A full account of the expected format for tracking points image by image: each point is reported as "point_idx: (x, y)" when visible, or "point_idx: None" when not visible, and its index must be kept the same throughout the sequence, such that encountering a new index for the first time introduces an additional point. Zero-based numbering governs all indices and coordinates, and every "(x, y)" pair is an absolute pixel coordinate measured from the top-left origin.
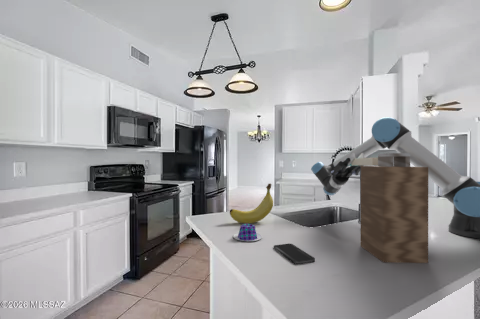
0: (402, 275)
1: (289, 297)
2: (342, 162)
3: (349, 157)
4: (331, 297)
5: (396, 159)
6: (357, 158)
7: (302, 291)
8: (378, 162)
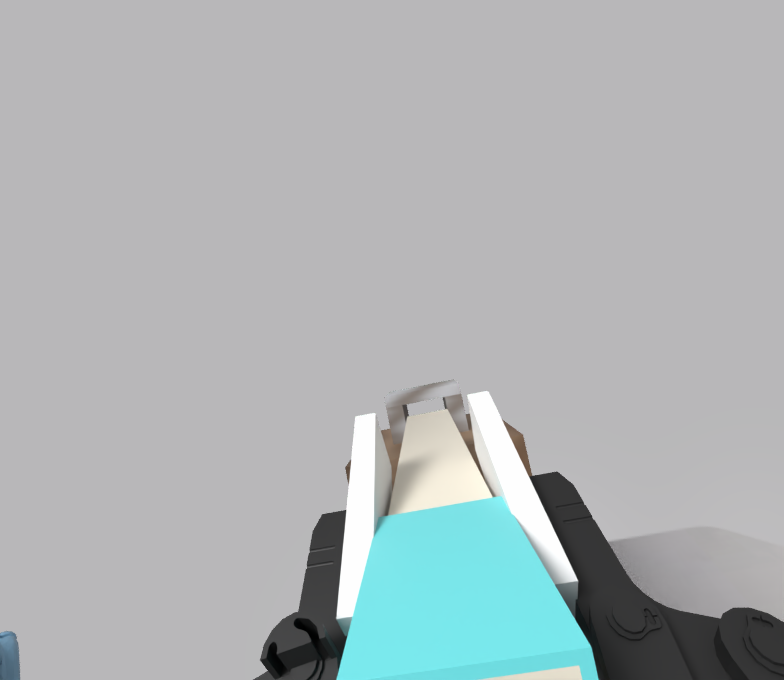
0: None
1: (722, 544)
2: (697, 624)
3: (524, 473)
4: (658, 555)
5: (405, 413)
6: (468, 450)
7: (711, 557)
8: (465, 415)
